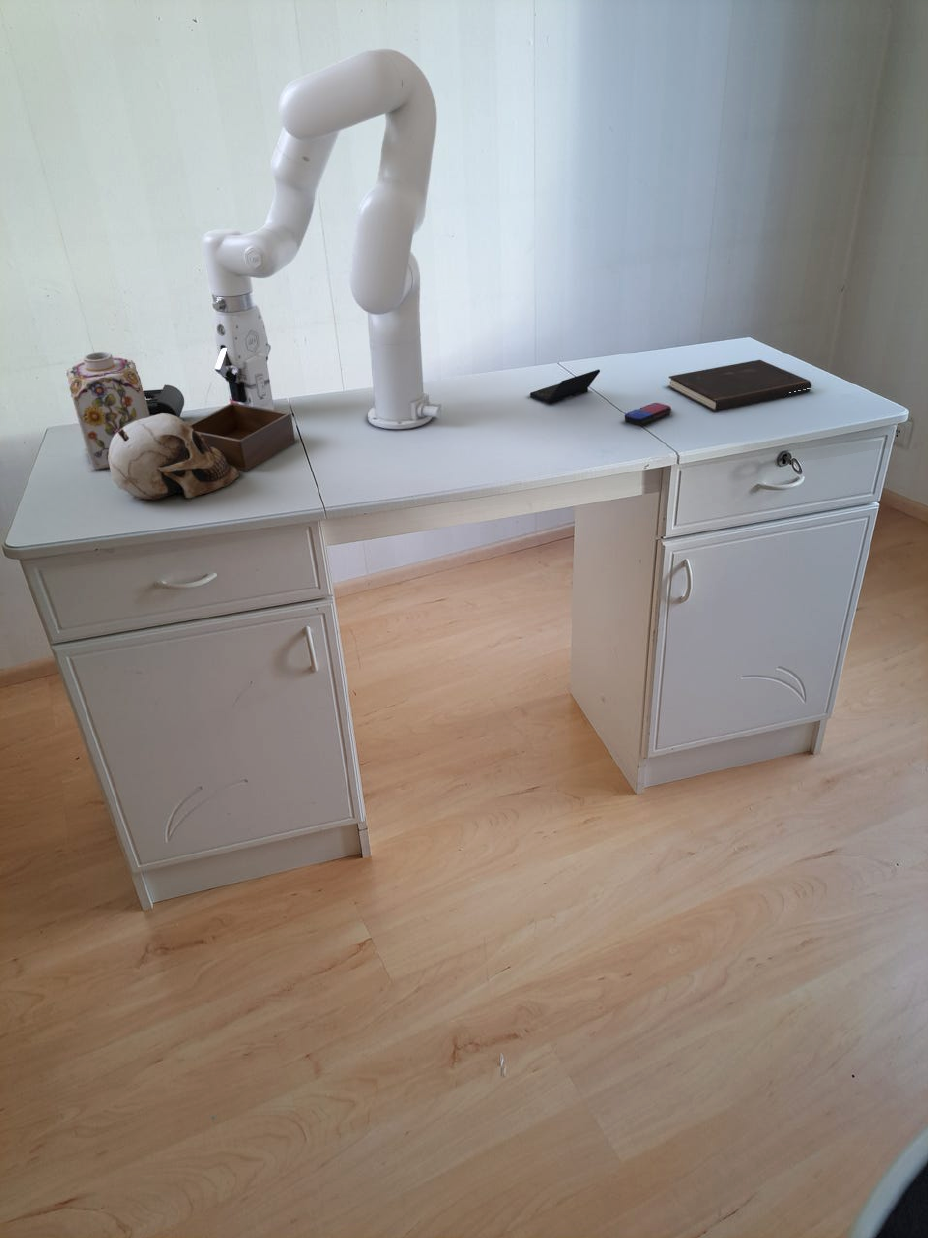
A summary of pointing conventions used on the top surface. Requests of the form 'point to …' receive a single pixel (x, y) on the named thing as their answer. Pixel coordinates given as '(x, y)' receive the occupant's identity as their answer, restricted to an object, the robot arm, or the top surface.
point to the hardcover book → (738, 385)
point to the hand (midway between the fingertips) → (250, 394)
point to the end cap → (164, 401)
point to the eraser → (647, 414)
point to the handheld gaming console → (565, 388)
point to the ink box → (255, 383)
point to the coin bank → (166, 459)
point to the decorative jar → (105, 401)
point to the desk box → (246, 433)
